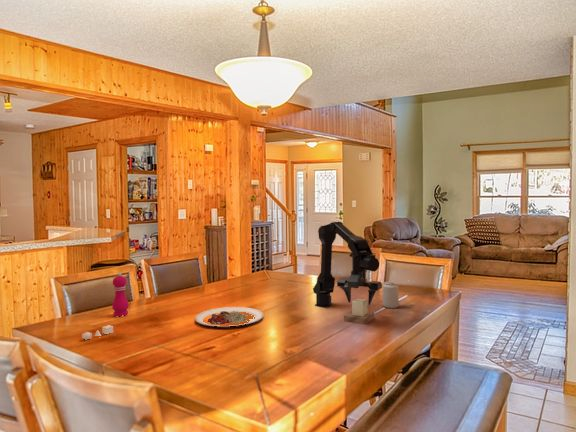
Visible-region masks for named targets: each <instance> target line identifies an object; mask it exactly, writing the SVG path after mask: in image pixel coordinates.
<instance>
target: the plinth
mask: <svg viewBox="0 0 576 432" xmlns="http://www.w3.org/2000/svg"><path fill="white" fill-rule="evenodd" d="M374 320H375V312H369V311H367V314H366V315H364V316H358V315H352V310H351V311H349V312H348V313H346V314H344V315H343V321H344V322H348V323H352V324H360V325H367V324H369V323H371V322H372V321H374Z"/></svg>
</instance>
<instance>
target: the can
mask: <svg viewBox="0 0 576 432" xmlns="http://www.w3.org/2000/svg"><path fill="white" fill-rule="evenodd" d="M399 289H400V287H399V285H398V282H396V281H392V280H391V281H388V280H387V281H384V282H383V284H382V306H383V307H384V308H386V309H397V308H398V307H399V306H400V303H399V302H400V301H399V298H400V297H399V294H400V293H399Z"/></svg>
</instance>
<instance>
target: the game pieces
mask: <svg viewBox="0 0 576 432" xmlns="http://www.w3.org/2000/svg"><path fill="white" fill-rule="evenodd" d="M101 328H102V329H101V330H102V334H103V333H104V334H109V333H113V332H114V326H113V325H111V324H108V325H105V326H104V325H103V326H102V327H101ZM102 334H101V333H100V331H99V330H96V331H95V333H94V335H93V332H89V331H85V332H84V333H82V334H81V337H82V339H83V340H84V339H85V340H84V341H86V340H87V339H90V340H91V339H92V337H94V336H102ZM104 334H103V335H104ZM113 334H114V333H113ZM87 341H88V340H87Z"/></svg>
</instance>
